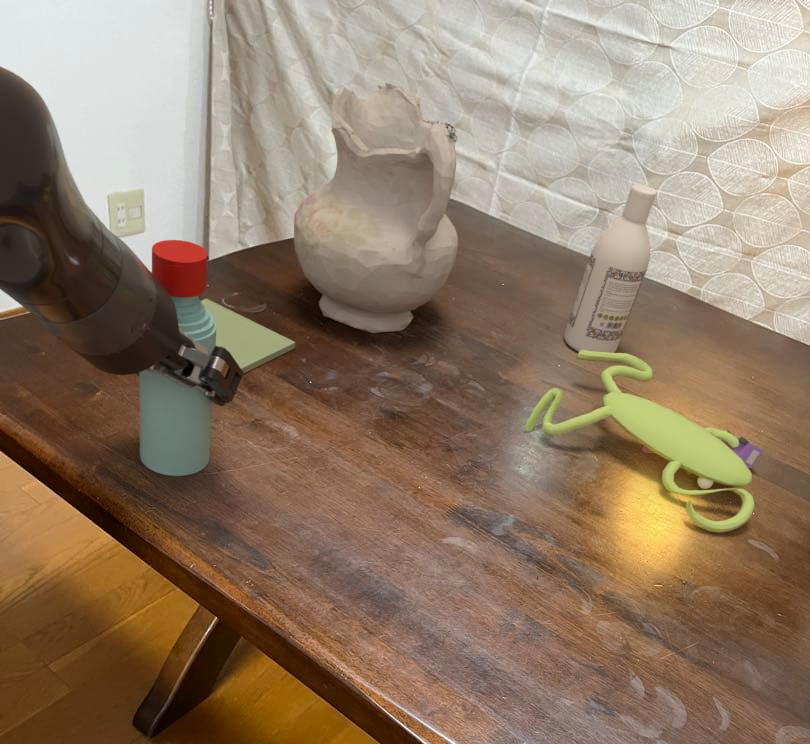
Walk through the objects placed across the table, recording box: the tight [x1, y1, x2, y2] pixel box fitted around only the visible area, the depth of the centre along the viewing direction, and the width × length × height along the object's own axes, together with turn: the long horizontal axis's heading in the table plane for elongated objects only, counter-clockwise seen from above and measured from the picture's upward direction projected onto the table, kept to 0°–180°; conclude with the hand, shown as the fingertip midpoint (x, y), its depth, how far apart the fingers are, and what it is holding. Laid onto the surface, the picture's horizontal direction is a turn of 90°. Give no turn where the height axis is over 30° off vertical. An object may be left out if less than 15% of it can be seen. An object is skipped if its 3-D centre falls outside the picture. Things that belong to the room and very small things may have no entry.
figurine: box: [524, 350, 764, 534], centre depth 92 cm, size 18×27×6 cm
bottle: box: [138, 296, 217, 477], centre depth 71 cm, size 6×6×18 cm
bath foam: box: [563, 184, 657, 353], centre depth 105 cm, size 7×7×20 cm
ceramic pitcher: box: [293, 82, 459, 334], centre depth 99 cm, size 22×20×25 cm
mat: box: [200, 298, 296, 374], centre depth 93 cm, size 13×13×1 cm
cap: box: [151, 239, 208, 297], centre depth 66 cm, size 4×4×3 cm
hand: (186, 381), depth 74 cm, fingers open, 6 cm apart
